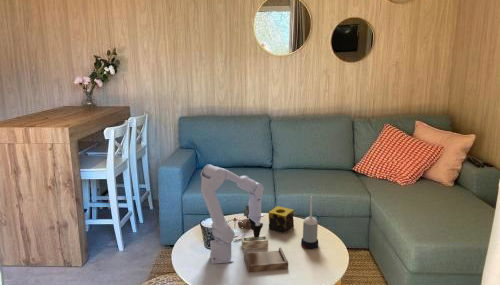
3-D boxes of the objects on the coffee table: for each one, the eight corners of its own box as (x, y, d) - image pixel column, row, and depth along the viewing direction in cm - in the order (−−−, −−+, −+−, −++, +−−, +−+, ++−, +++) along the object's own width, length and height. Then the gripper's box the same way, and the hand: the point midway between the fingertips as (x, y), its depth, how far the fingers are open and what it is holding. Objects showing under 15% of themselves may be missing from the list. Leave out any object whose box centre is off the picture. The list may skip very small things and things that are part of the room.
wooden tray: (249, 272, 159) (249, 266, 158) (244, 256, 171) (244, 250, 170) (288, 268, 161) (288, 262, 161) (280, 253, 174) (280, 247, 173)
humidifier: (300, 248, 178) (301, 198, 172) (302, 240, 186) (303, 192, 180) (317, 250, 176) (319, 200, 171) (318, 242, 184) (320, 194, 178)
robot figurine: (245, 231, 196) (244, 209, 193) (233, 225, 203) (233, 204, 200) (260, 224, 203) (260, 203, 200) (249, 219, 210) (249, 198, 207)
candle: (294, 227, 200) (294, 209, 198) (285, 234, 192) (285, 216, 190) (277, 222, 206) (277, 205, 203) (268, 229, 197) (268, 212, 195)
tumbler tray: (243, 249, 178) (243, 242, 177) (241, 244, 182) (241, 237, 181) (268, 247, 179) (268, 240, 178) (266, 242, 184) (266, 235, 183)
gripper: (266, 212, 170) (266, 239, 173) (260, 200, 184) (260, 225, 187) (251, 213, 169) (251, 241, 172) (246, 201, 183) (246, 226, 186)
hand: (255, 233), depth 179 cm, fingers open, 7 cm apart
